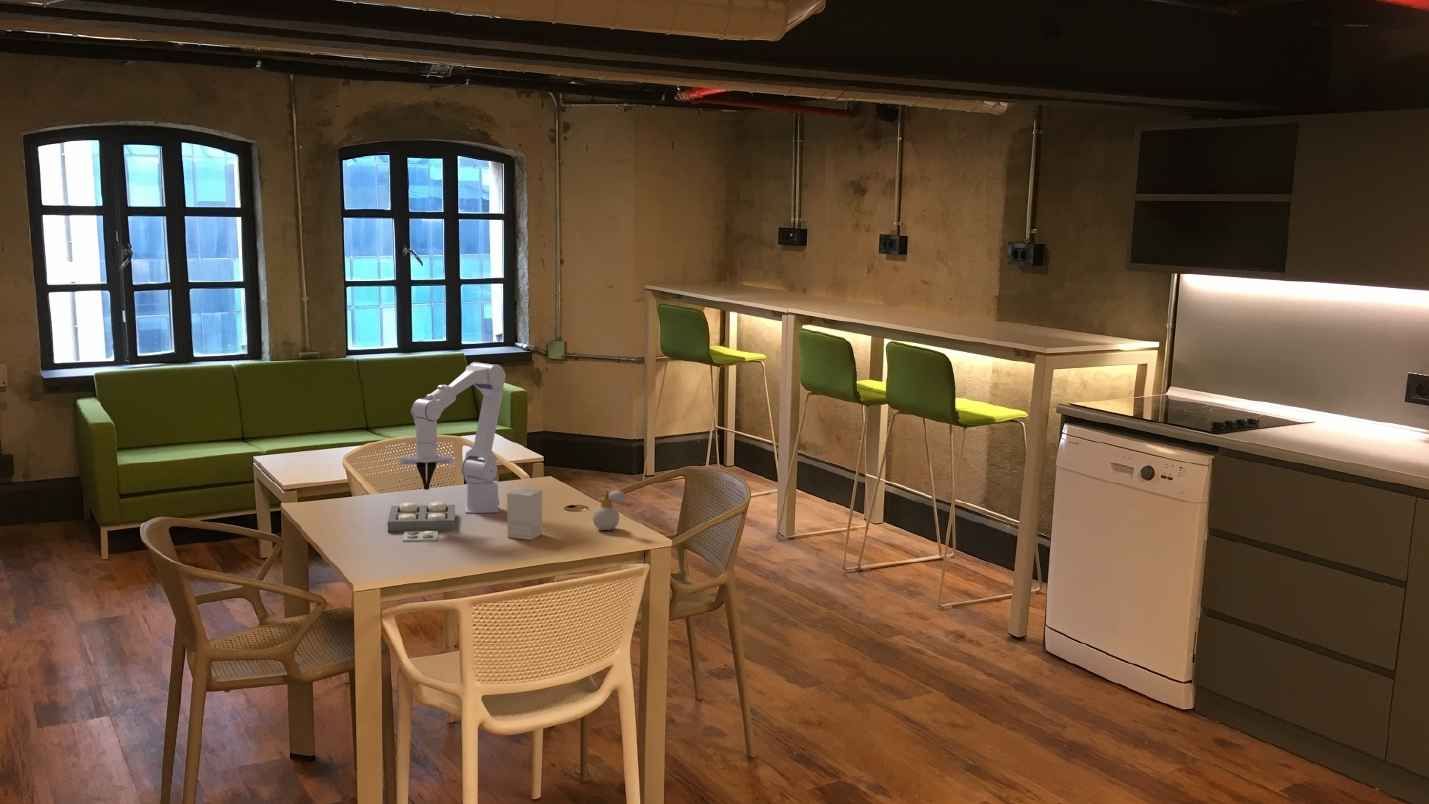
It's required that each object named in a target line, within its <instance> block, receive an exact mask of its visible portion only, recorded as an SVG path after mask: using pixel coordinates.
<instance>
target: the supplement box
mask: <svg viewBox="0 0 1429 804" xmlns="http://www.w3.org/2000/svg"><path fill="white" fill-rule="evenodd" d="M506 499H507V500H506V502H507V507H506V509H507V512H506V513H507V516H506V517H507V524H506V525H507V538H508V539H509V538H510V539H519V540H526V541H527V540H528V541H532V540H534V539H535V538H537V537H539V536H541V535H543V489H542V490H541V489H535V488H534V489H532V488H525V487H524V488H523V487H522V488H521V487H519V488H516V489H514V490H512V491H510V492H507V496H506Z"/></svg>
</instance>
